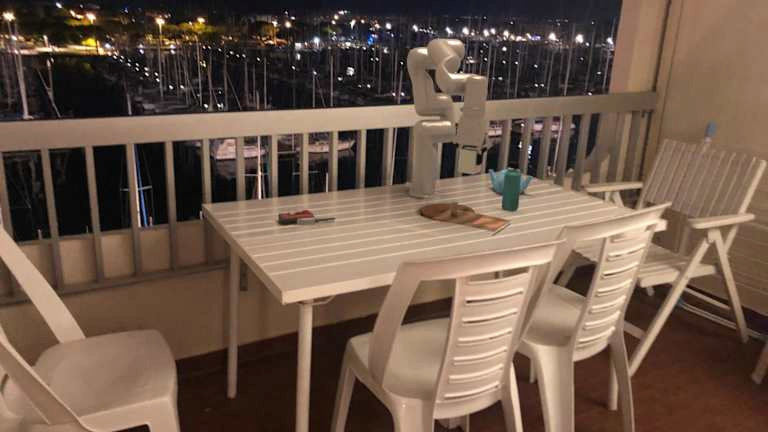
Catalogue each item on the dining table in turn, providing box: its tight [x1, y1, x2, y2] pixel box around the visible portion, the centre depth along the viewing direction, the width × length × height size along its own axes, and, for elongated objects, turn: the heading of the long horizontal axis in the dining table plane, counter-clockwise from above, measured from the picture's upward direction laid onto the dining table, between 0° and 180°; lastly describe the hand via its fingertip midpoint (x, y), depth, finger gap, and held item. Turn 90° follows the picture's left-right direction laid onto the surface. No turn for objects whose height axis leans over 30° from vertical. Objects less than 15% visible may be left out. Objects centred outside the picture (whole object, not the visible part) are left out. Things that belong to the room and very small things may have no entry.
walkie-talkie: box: [278, 208, 336, 226], centre depth 214 cm, size 9×4×20 cm
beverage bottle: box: [501, 161, 522, 212], centre depth 231 cm, size 6×7×20 cm
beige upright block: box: [457, 146, 482, 175], centre depth 214 cm, size 6×6×8 cm
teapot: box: [488, 167, 533, 195], centre depth 263 cm, size 15×15×11 cm
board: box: [432, 201, 511, 237], centre depth 219 cm, size 24×16×6 cm, turn 57°
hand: (470, 163), depth 214 cm, fingers closed on beige upright block, 6 cm apart
